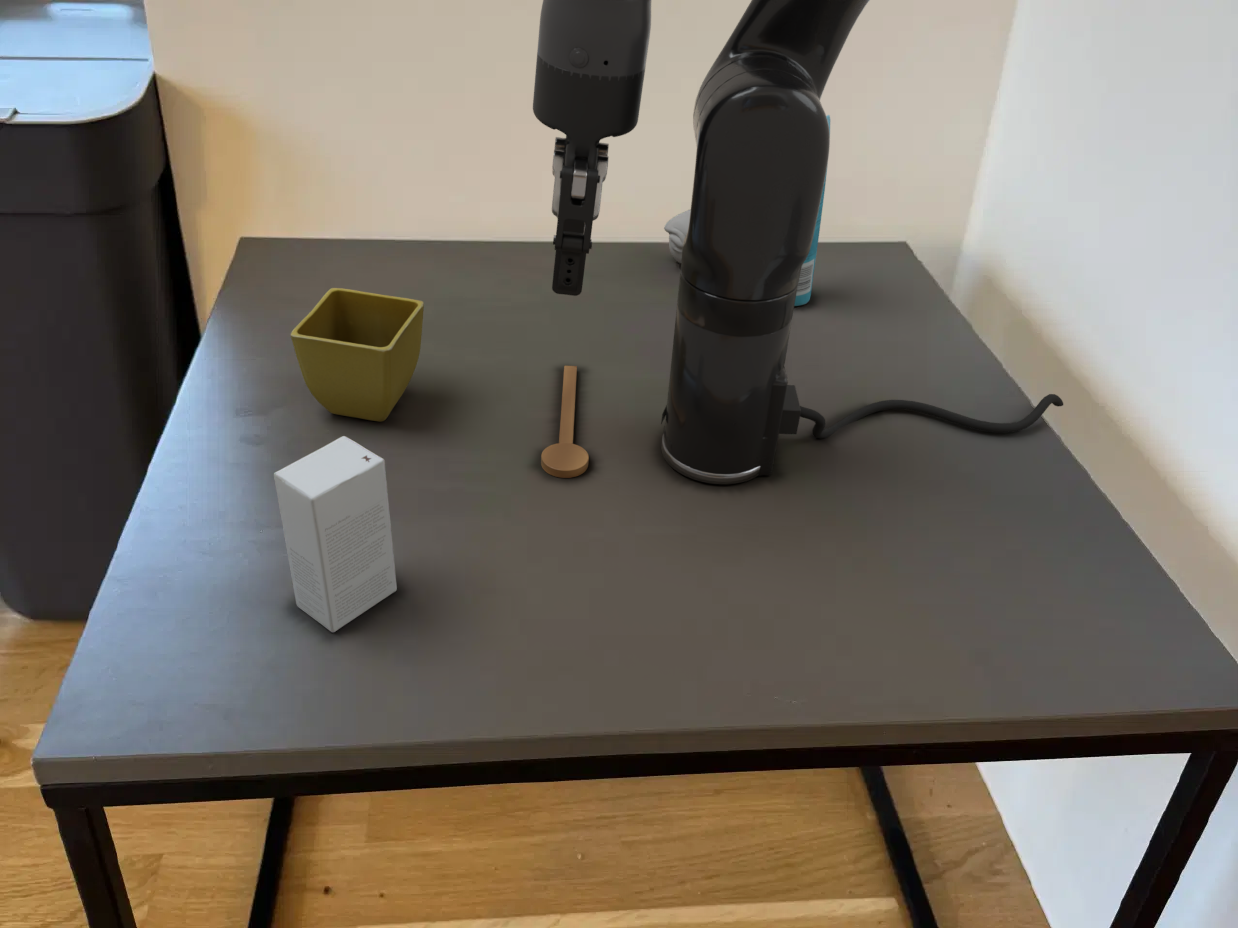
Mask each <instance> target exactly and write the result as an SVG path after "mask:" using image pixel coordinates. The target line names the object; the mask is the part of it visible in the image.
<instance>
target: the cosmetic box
mask: <svg viewBox="0 0 1238 928" xmlns="http://www.w3.org/2000/svg"><path fill="white" fill-rule="evenodd" d="M273 478H274V485H275V491H276V495H277V501H278V507H279V513H280V519H281V524H282V529H283V536H284V541H285V547H286V553H287V559H288V565H289V570H290V575H291V582H292V587H293V593H294V599H295V604H296V606H297V608H299V609H300V610H301V611H303V612H304V613H305V614H307V615H308V616H309V617H311V618H312V619H313V620H315V621H316V622H317V623H319V624H320V625H322V626H323V627H324V628H325V629H327V630H328V631H329V632H330V633H335V632H336V631H338V630H339V629H341V628H342V627H344V626H346V625H347V624H348V623H350V622H351V621H353V620H355V619H356V618H357V617H359V616H360V615H362V614H364V613H365V612H366V611H368V610H369V609H371V608H372V607H374V606H376V605H377V604H378V603H380V602H381V601H383V600H384V599H386V598H388V597H389V596H391V595H392V594H394V593H395V592H396V591H398V589H397V588H398V586H397V576H396V575H397V574H396V566H395V556H394V544H393V534H392V525H391V523H392V522H391V513H390V504H389V494H388V493H389V491H388V483H387V473H386V461H385V459H384V458H382V457H381V456H380V455H377V454H376V453H374V452H372V451H371V450H369V449H367V448H365V447H364V446H362V445H361V444H359V443H358V442H356V441H354V440H352V439H351V438H350V437H348V436H345V435H343V436H340V437H338V438H337V439H335V440H333V441H331V442H330V443H327V444H326V445H324V446H322V447H321V448H319V449H316V450H315V451H312V452H311V453H309V454H307V455H305V456H303V457H301V458H299V459H298V460H296V461H294V462H292V463H290V464H288V465H286V466H285V467H282V468H281V469H279V470H277V471H275V472H274V473H273Z"/></svg>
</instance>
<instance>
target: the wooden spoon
mask: <svg viewBox="0 0 1238 928" xmlns="http://www.w3.org/2000/svg"><path fill="white" fill-rule="evenodd" d="M577 373H578V366H577V365H564V366H563V379H562V395H561V408H560V420H559V421H560V423H559V435H558V443H553V444H549V445H548V446H547V447H545V448H544V449H543V450H542V452H541V455H540V465H541V468H542V470H543V471H545V473H546V474H548V475H550V476H553V477H555V478H561V479H562V478H563V479H570V478H576V477H578V476H581V475H582V474H584V473H586V471H587V469H588V467H589V461H590V460H589V457H590V456H589V453H588V451H586V449H585V448H583V447H582V446H580V445H578V444H575V443H574V431H575V429H574V428H575V414H576V413H575V412H576V392H577V391H576V390H577Z"/></svg>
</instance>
